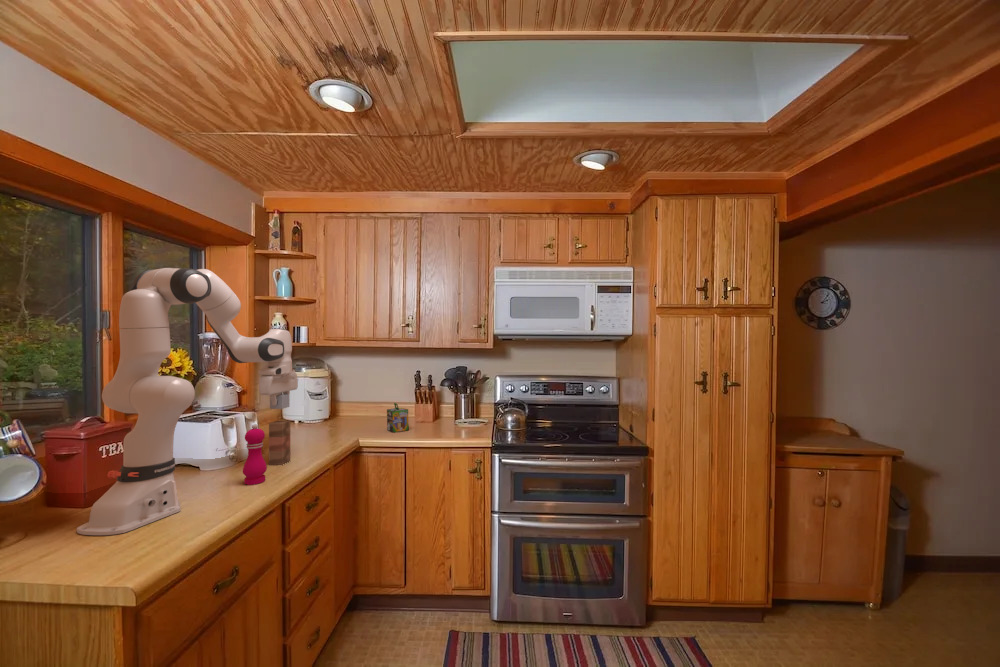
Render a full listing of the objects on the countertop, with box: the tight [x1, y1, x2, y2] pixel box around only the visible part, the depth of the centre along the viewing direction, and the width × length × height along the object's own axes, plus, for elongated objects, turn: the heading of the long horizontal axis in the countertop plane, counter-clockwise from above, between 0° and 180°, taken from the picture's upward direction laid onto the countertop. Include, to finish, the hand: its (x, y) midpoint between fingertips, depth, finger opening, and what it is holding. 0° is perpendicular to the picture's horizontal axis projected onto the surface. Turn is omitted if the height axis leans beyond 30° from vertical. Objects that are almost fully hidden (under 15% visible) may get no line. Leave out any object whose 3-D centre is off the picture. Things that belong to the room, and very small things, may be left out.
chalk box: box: [386, 402, 410, 434], centre depth 229 cm, size 9×9×15 cm
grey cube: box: [269, 393, 290, 410], centre depth 169 cm, size 5×5×5 cm
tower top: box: [268, 420, 291, 438], centre depth 169 cm, size 6×6×6 cm
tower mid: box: [268, 434, 291, 452], centre depth 169 cm, size 6×6×6 cm
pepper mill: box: [242, 423, 268, 486], centre depth 146 cm, size 7×7×20 cm
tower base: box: [268, 447, 291, 466], centre depth 168 cm, size 6×6×6 cm
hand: (279, 403), depth 169 cm, fingers closed on grey cube, 5 cm apart
